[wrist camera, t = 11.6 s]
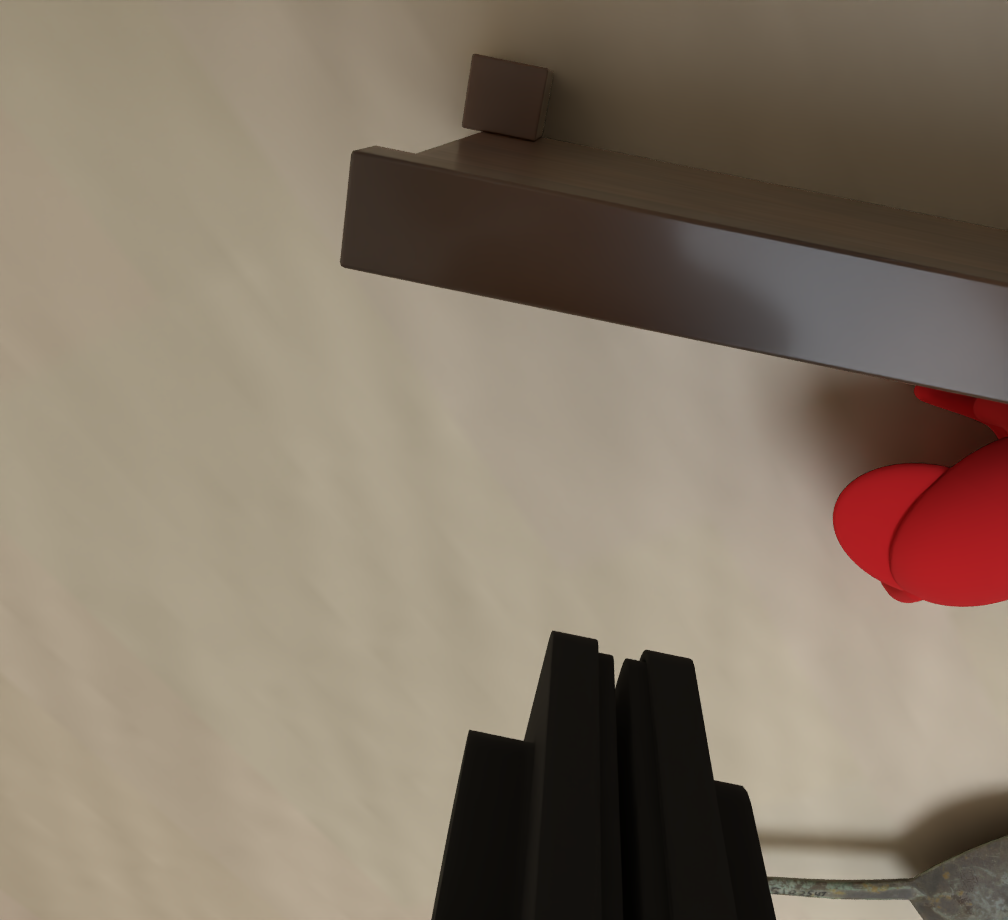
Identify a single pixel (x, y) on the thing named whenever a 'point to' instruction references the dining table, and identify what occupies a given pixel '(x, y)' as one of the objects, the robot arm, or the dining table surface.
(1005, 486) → the red rounded piece
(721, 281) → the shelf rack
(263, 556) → the dining table surface
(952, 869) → the soupspoon
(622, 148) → the dining table surface
